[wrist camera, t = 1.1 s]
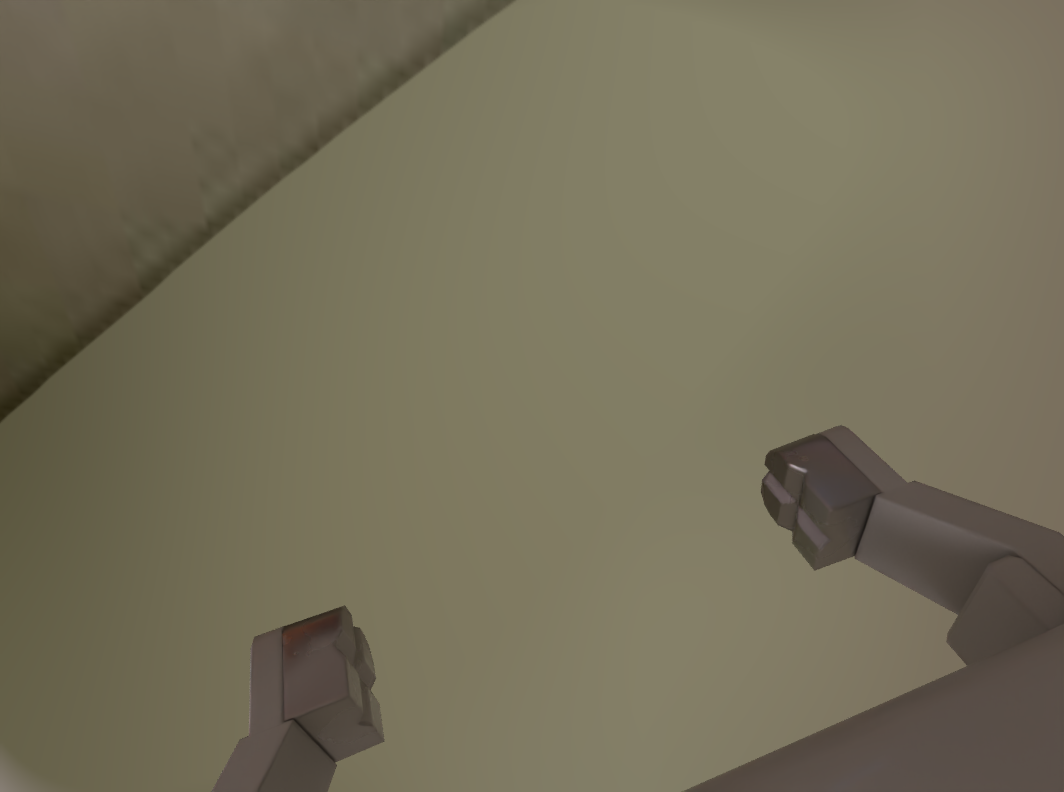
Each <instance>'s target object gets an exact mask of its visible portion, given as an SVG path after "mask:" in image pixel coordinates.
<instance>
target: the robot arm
mask: <svg viewBox="0 0 1064 792" xmlns="http://www.w3.org/2000/svg"><path fill="white" fill-rule="evenodd" d="M765 466H766V467H767V468H768V469H769V470H770V471H769V472H768V473H767V474H766V476H765V477H764V478H763V479H762V486H761V494H762V497H763V501H764V504H765V506H766V508H767V510H768V512H769V513H770V515H771V517H772V518H773V519H774V520H775V522H776V523H777V524H778V525H779V526H781V527H784V528H786V529H788V530H791V531H792V541H793V542H792V543H793V544H794V546H795V547H796V548H797V549H798V551H799V552H800V553H801V554H802V556H803V557H804V558H805V559H806V561H807V562H808V563H809V564H810V566H811V567H812V568H813V569H814V570H817V569H820V568H823V567H825V566H828V565H831V564H833V563H836V562H839V561H842V560H845V559H847V558H850V557H853V556H855V559H857V560H858V561H861V562H862V563H864V564H866V565H868V566H870V567H871V568H873V569H875V570H877V571H879V572H880V573H882V574H884V575H886V576H888V577H890V578H892V579H894V580H895V581H897V582H899V583H901V584H902V585H904V586H906V587H908V588H910V589H912V590H913V591H915V592H917V593H919V594H921V595H923V596H924V597H926V598H928V599H930V600H932V601H934V602H935V603H937V604H939V605H941V606H943V607H945V608H947V609H948V610H950V611H952V612H954V613H956V614H958V617H957V618H956V620H955V622H954V623H953V625H952V627H951V629H950V630H949V632H948V634H947V643H948V644H949V645H950V647H951V648H952V649H953V650H954V651H955V652H956V653H957V655H958V656H959V657H960V658H961V659H962V660H963V661H964V662H965V663H966V665H967V666H966V667H964V668H962V669H960V670H958V671H955V672H953V673H950V674H948V675H946V676H944V677H942V678H939V679H937V680H935V681H932V682H930V683H928V684H925V685H923V686H921V687H919V688H916V689H914V690H912V691H910V692H907V693H905V694H903V695H901V696H898V697H896V698H894V699H891V700H889V701H887V702H885V703H883V704H880V705H878V706H876V707H873V708H871V709H869V710H866V711H864V712H862V713H860V714H858V715H855V716H853V717H851V718H848V719H846V720H844V721H841V722H839V723H837V724H835V725H832V726H830V727H828V728H826V729H824V730H821V731H819V732H816V733H814V734H812V735H810V736H807V737H805V738H803V739H801V740H798V741H796V742H794V743H791V744H789V745H787V746H785V747H782V748H780V749H778V750H776V751H773V752H771V753H769V754H766V755H764V756H762V757H760V758H757V759H755V760H753V761H751V762H748V763H746V764H744V765H742V766H739V767H737V768H735V769H732V770H730V771H728V772H726V773H723V774H721V775H719V776H716V777H714V778H712V779H710V780H707V781H705V782H703V783H701V784H699V785H696V786H694V787H691V788H689V789H687V790H685V791H682V792H1064V536H1063V535H1062V534H1061V533H1059V532H1057V531H1054V530H1051V529H1048V528H1046V527H1043V526H1040V525H1037V524H1034V523H1032V522H1029V521H1026V520H1023V519H1020V518H1018V517H1015V516H1012V515H1009V514H1006V513H1004V512H1001V511H998V510H995V509H992V508H989V507H987V506H984V505H981V504H978V503H976V502H973V501H970V500H967V499H964V498H962V497H959V496H956V495H953V494H950V493H947V492H945V491H942V490H939V489H936V488H934V487H931V486H928V485H925V484H922V483H920V482H916V481H912V482H909V483H907V482H906V481H905V480H904V479H903V478H902V477H901V476H899V475H898V474H897V473H896V472H895V471H894V470H893V469H892V468H891V467H890V466H889V465H888V464H887V463H886V462H884V461H883V460H882V459H881V458H880V457H879V456H878V455H877V454H876V453H875V452H874V451H873V450H871V449H870V448H869V447H868V446H867V445H866V444H865V443H864V442H863V441H862V440H860V438H859V437H857V436H856V435H855V434H854V433H853V432H852V431H851V430H850V429H848V428H846V427H844V426H836V427H833V428H831V429H828V430H826V431H823V432H821V433H818V434H813V435H810V436H808V437H805V438H802V439H800V440H797V441H794V442H792V443H789V444H786V445H784V446H781V447H779V448H776V449H773V450H771V451H770V452H769V453H768V454H767V455H766V459H765ZM250 661H251V662H250V709H249V711H250V712H249V736H247V737H245V738H242V739H240V740H239V742H238V744H237V746H236V748H235V749H234V752H233V753H232V755H231V757H230V759H229V761H228V762H227V764H226V766H225V768H224V770H223V771H222V773H221V775H220V777H219V779H218V781H217V783H216V784H215V786H214V788H213V790H212V792H327V791H328V788H329V785H330V783H331V780H332V777H333V775H334V772H335V769H336V766H337V765H336V764H335V762H337V761H339V760H342V759H344V758H346V757H349V756H351V755H354V754H356V753H358V752H360V751H363V750H365V749H368V748H370V747H372V746H374V745H377V744H379V743H382V742H384V734H383V727H382V719H381V712H380V704H379V702H378V701H377V699H376V698H375V696H374V695H373V693H372V692H371V688H372V686H373V684H374V682H375V679H376V676H375V669H374V663H373V659H372V655H371V651H370V648H369V645H368V643H367V640H366V638H365V635H364V634H363V632H362V631H361V629H360V628H358V627H354V626H353V622H352V615H351V613H350V612H349V611H348V609H347V608H346V606H342V607H339V608H336V609H333V610H330V611H327V612H324V613H321V614H319V615H316V616H313V617H310V618H307V619H304V620H302V621H298V622H295V623H293V624H290V625H287V626H283V627H280V628H278V629H275V630H272V631H269V632H266V633H264V634H261V635H258V636H256V637H254V640H253V643H252V646H251V660H250Z"/></svg>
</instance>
